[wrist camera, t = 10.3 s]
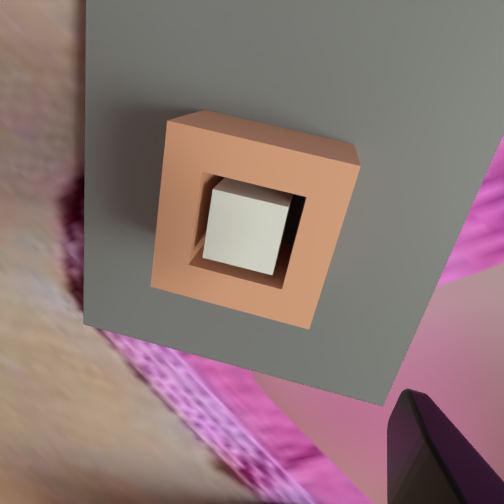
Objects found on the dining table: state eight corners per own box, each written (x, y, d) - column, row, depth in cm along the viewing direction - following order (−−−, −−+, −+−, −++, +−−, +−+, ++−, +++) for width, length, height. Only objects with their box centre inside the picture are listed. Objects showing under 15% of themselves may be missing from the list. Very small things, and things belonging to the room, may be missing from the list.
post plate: (93, 314, 23) (33, 374, 18) (101, -92, 15) (1, -163, 10) (380, 392, 21) (393, 478, 17) (553, -9, 13) (664, -50, 9)
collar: (185, 245, 19) (150, 286, 15) (204, 109, 16) (166, 120, 12) (313, 278, 18) (309, 329, 15) (354, 144, 16) (360, 165, 12)
